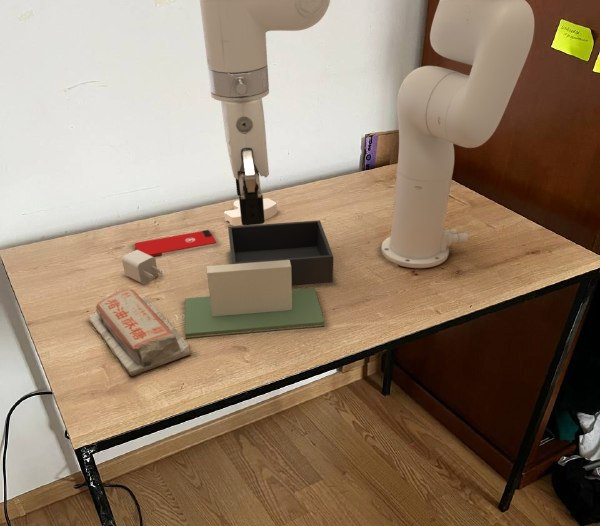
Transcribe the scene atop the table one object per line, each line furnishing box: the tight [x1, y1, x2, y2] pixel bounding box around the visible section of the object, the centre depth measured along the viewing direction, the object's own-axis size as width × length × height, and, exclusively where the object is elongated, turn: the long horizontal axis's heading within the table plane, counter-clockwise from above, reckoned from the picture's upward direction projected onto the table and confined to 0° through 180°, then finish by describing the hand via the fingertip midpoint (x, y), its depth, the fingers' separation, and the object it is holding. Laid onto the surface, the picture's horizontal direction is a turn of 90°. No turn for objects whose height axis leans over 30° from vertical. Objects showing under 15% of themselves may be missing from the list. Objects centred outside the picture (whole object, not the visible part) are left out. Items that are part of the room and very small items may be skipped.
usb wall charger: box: [121, 249, 163, 285], centre depth 109 cm, size 4×7×4 cm, turn 50°
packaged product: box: [87, 288, 191, 377], centre depth 95 cm, size 18×5×10 cm
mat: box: [184, 287, 325, 340], centre depth 101 cm, size 22×10×1 cm, turn 98°
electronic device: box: [134, 229, 217, 257], centre depth 119 cm, size 6×1×15 cm
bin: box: [227, 219, 334, 287], centre depth 111 cm, size 17×14×6 cm
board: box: [206, 260, 293, 317], centre depth 98 cm, size 13×2×8 cm, turn 98°
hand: (250, 208), depth 90 cm, fingers open, 9 cm apart
